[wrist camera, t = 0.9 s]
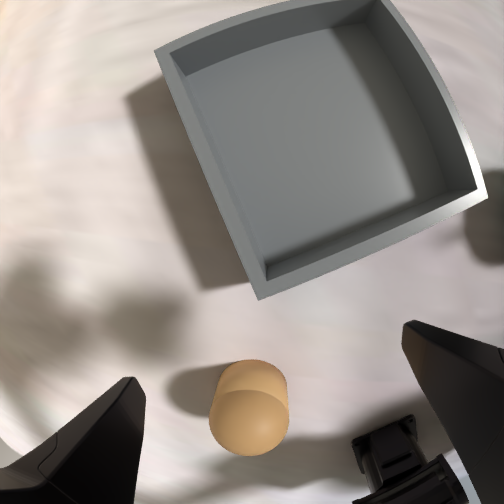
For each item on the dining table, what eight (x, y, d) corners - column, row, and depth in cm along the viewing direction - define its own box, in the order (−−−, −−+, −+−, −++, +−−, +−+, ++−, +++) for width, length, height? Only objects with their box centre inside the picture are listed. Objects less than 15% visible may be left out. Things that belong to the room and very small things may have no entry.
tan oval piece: (295, 401, 21) (301, 460, 14) (235, 418, 22) (225, 475, 15) (272, 350, 20) (271, 406, 14) (207, 370, 21) (185, 425, 14)
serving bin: (452, 197, 18) (488, 197, 13) (260, 279, 20) (258, 300, 15) (364, 19, 16) (380, -11, 12) (175, 77, 18) (153, 50, 13)
